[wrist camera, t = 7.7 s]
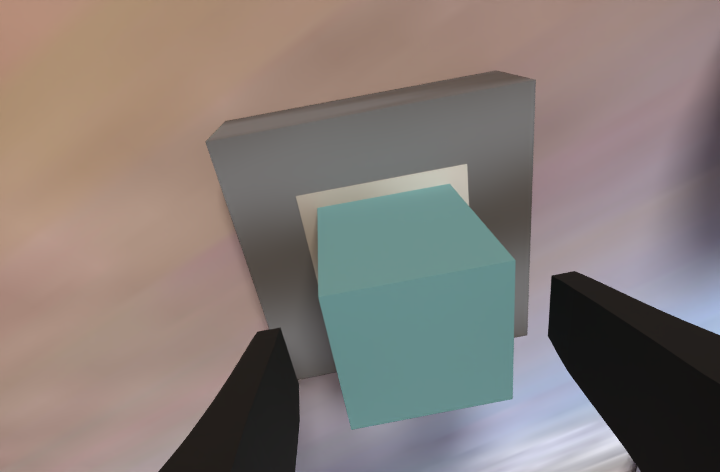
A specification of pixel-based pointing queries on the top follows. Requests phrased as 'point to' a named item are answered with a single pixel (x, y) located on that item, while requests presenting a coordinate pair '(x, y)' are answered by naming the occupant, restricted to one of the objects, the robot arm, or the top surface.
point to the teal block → (415, 305)
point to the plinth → (372, 183)
